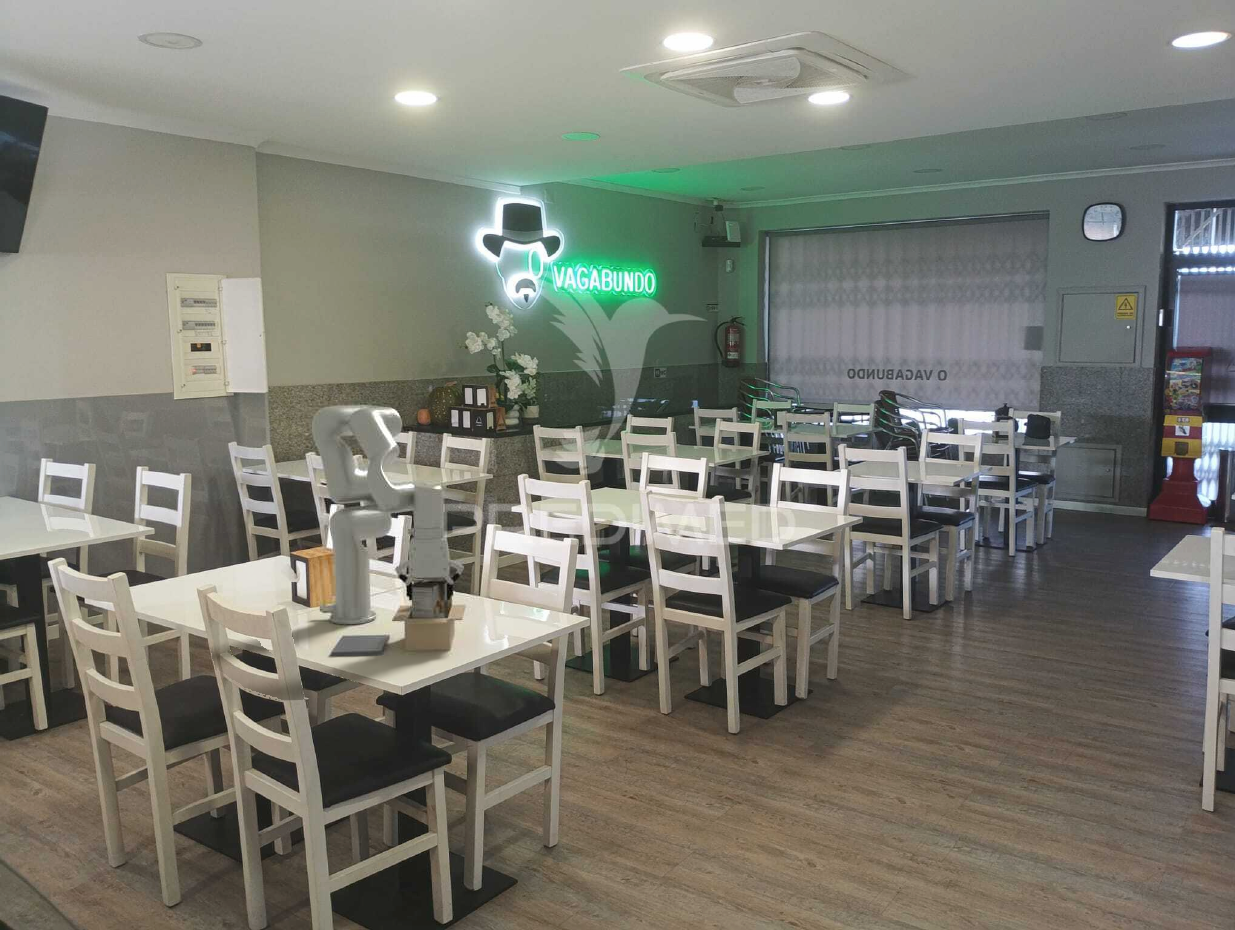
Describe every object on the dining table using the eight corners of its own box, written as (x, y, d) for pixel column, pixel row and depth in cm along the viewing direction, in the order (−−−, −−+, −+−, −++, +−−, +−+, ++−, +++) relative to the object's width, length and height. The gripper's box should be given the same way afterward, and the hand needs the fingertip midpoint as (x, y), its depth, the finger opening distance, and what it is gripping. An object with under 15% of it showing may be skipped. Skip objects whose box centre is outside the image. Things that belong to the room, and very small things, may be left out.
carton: (390, 654, 233) (389, 595, 231) (400, 635, 250) (399, 579, 248) (461, 653, 234) (460, 594, 233) (466, 633, 251) (465, 578, 250)
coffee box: (426, 636, 249) (425, 576, 247) (449, 638, 247) (448, 578, 246) (411, 646, 240) (410, 584, 238) (435, 648, 238) (434, 586, 237)
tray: (331, 655, 231) (331, 651, 231) (342, 639, 245) (342, 635, 245) (381, 654, 233) (381, 650, 232) (389, 638, 246) (389, 634, 246)
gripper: (392, 536, 236) (393, 603, 238) (462, 535, 238) (463, 601, 239) (396, 531, 243) (398, 596, 245) (464, 530, 245) (465, 594, 247)
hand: (430, 598), depth 242 cm, fingers open, 9 cm apart
